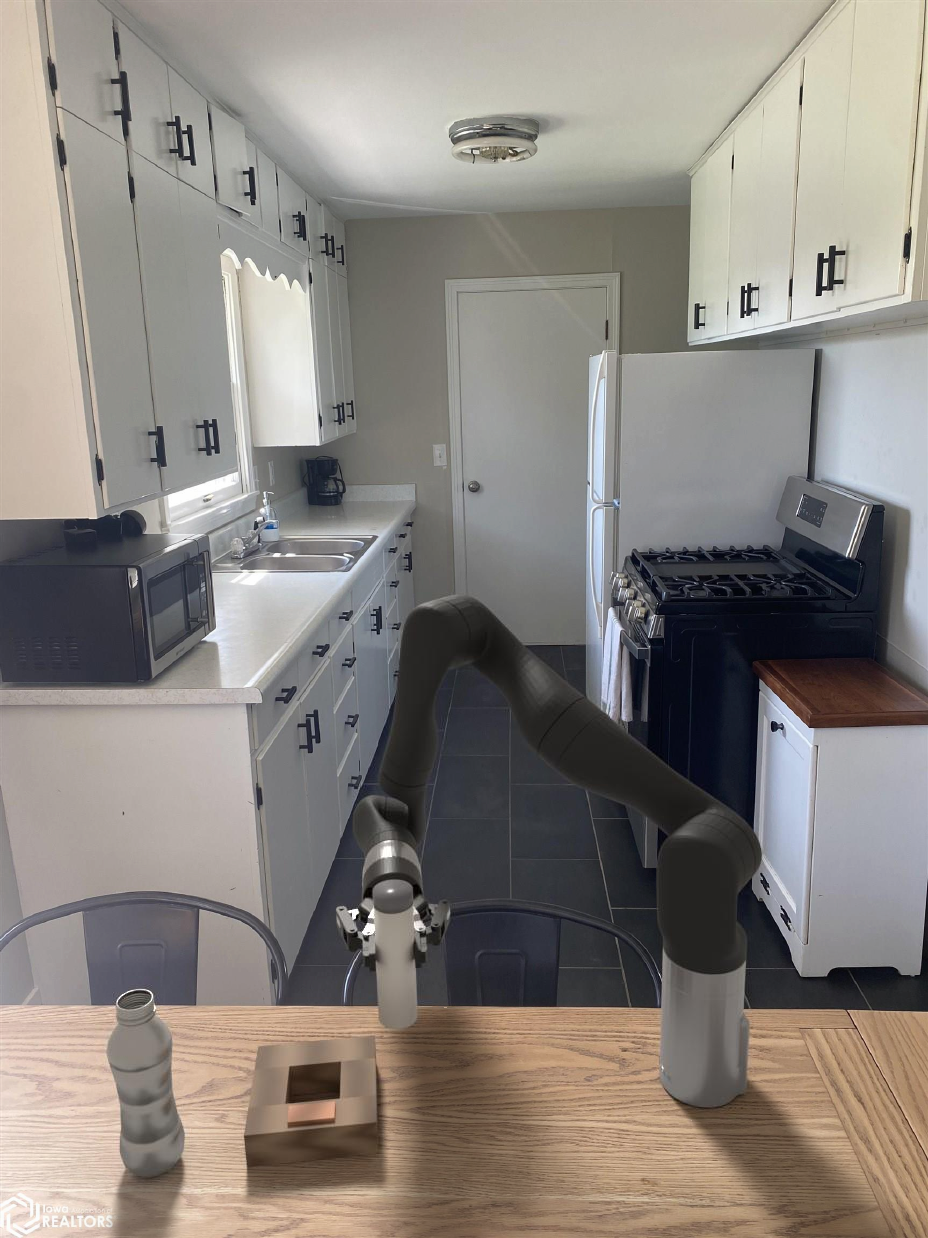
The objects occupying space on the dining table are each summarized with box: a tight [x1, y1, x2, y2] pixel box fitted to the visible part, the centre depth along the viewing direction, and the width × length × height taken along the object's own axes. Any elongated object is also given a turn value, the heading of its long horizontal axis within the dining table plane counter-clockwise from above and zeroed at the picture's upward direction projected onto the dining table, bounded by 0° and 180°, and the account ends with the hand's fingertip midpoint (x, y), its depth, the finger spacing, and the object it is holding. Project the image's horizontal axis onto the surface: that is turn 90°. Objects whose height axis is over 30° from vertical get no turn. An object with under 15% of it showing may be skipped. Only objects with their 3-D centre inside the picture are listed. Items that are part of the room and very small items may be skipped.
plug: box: [373, 880, 418, 1030], centre depth 103 cm, size 4×4×16 cm
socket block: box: [243, 1035, 379, 1168], centre depth 106 cm, size 14×14×4 cm
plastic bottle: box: [105, 988, 186, 1178], centre depth 98 cm, size 6×7×20 cm
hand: (395, 962), depth 101 cm, fingers closed on plug, 4 cm apart
